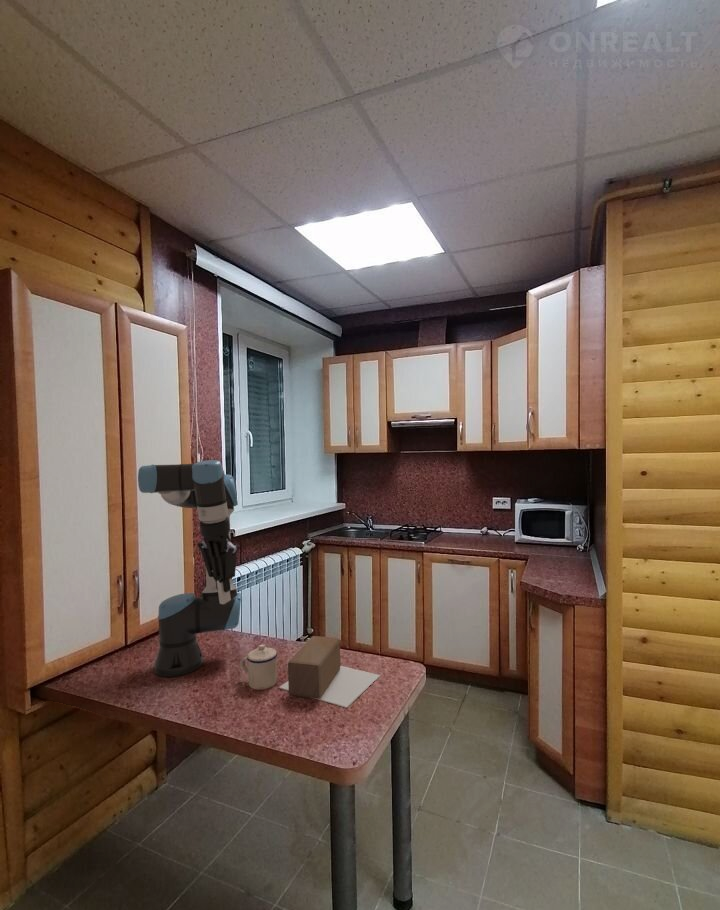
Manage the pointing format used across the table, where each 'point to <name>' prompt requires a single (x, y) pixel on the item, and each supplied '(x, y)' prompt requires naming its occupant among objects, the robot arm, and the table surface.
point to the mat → (345, 686)
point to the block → (314, 666)
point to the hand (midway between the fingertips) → (225, 601)
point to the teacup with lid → (261, 667)
